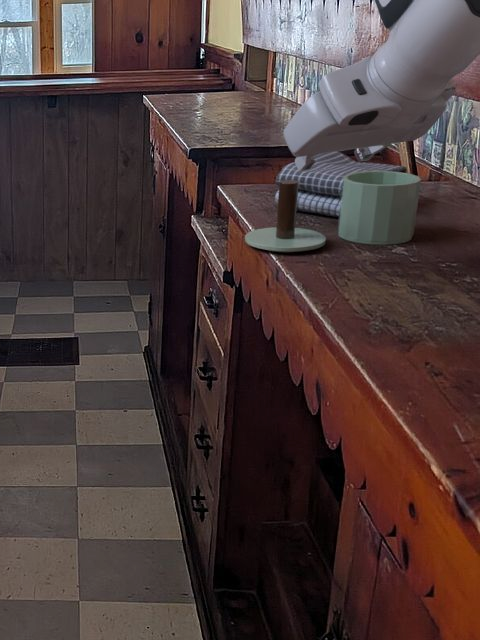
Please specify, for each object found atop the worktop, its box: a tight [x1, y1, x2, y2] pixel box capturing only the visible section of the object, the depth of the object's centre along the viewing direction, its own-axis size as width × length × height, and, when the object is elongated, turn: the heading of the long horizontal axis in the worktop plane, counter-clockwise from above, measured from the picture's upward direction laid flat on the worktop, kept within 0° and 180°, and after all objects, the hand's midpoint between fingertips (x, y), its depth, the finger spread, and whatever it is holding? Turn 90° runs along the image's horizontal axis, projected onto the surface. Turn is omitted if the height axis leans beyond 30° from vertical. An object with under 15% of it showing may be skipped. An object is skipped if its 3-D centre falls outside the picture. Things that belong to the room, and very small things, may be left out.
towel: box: [273, 151, 408, 218], centre depth 143 cm, size 15×18×8 cm
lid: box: [244, 180, 327, 253], centre depth 124 cm, size 11×11×9 cm
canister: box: [337, 171, 422, 246], centre depth 126 cm, size 10×10×8 cm
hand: (331, 161), depth 114 cm, fingers open, 8 cm apart
